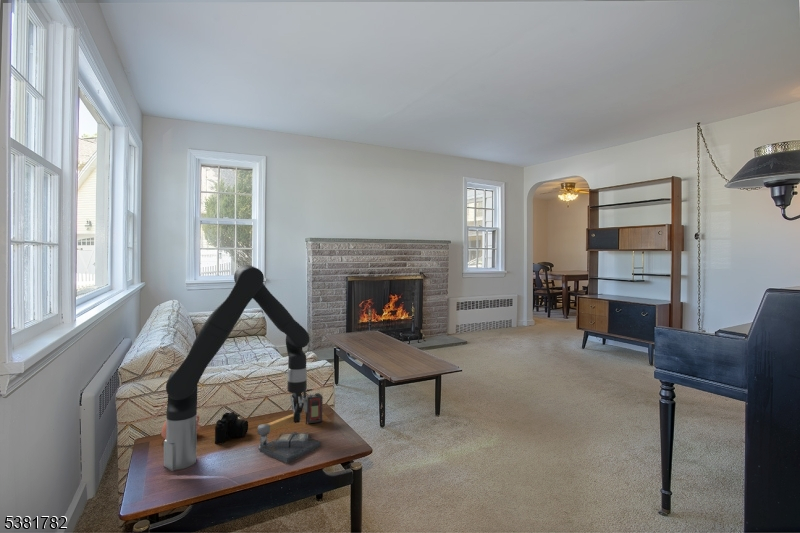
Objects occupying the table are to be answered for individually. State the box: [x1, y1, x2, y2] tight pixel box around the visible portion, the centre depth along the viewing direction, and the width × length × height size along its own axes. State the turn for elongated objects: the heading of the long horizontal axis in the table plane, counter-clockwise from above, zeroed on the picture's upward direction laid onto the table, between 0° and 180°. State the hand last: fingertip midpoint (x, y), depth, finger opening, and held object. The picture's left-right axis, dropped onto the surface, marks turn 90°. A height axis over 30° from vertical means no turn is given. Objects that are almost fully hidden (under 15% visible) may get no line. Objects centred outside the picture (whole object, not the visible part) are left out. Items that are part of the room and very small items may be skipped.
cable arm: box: [257, 413, 302, 436], centre depth 157 cm, size 20×4×3 cm, turn 145°
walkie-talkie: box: [302, 390, 324, 425], centre depth 173 cm, size 9×4×20 cm, turn 113°
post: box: [257, 434, 268, 450], centre depth 151 cm, size 4×4×5 cm
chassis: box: [259, 431, 322, 464], centre depth 150 cm, size 16×15×4 cm
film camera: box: [214, 411, 249, 445], centre depth 160 cm, size 15×10×9 cm, turn 177°
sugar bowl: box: [160, 414, 202, 440], centre depth 160 cm, size 12×14×10 cm
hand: (296, 422), depth 160 cm, fingers closed
